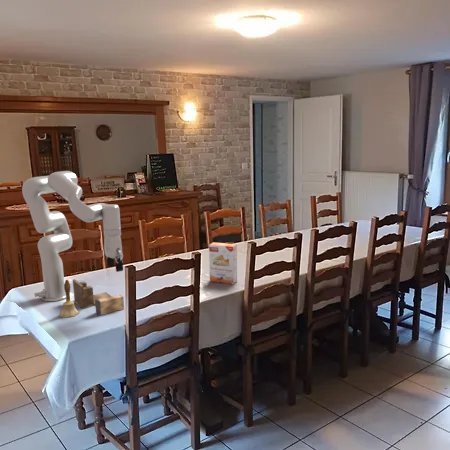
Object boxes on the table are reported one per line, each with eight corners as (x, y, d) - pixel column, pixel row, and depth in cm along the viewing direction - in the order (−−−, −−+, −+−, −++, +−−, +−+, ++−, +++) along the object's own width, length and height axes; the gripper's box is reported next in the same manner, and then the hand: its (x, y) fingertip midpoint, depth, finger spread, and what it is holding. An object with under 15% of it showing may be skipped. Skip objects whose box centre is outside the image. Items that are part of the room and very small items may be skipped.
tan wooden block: (98, 315, 202) (97, 301, 201) (96, 312, 205) (95, 299, 204) (124, 308, 209) (123, 295, 208) (121, 306, 212) (120, 293, 211)
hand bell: (62, 311, 208) (59, 277, 205) (80, 310, 209) (78, 277, 205) (57, 318, 200) (54, 283, 197) (76, 317, 201) (73, 282, 197)
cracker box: (209, 281, 246) (208, 244, 241) (213, 278, 251) (213, 241, 247) (233, 284, 240) (233, 246, 236) (237, 281, 246) (237, 243, 242)
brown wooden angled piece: (82, 308, 211) (80, 286, 209) (74, 300, 220) (72, 279, 218) (115, 300, 220) (113, 279, 218) (106, 293, 230) (104, 273, 227)
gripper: (97, 230, 208) (100, 266, 211) (112, 236, 194) (115, 274, 198) (112, 228, 212) (115, 263, 216) (128, 233, 199) (131, 271, 202)
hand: (115, 268), depth 207 cm, fingers open, 9 cm apart
